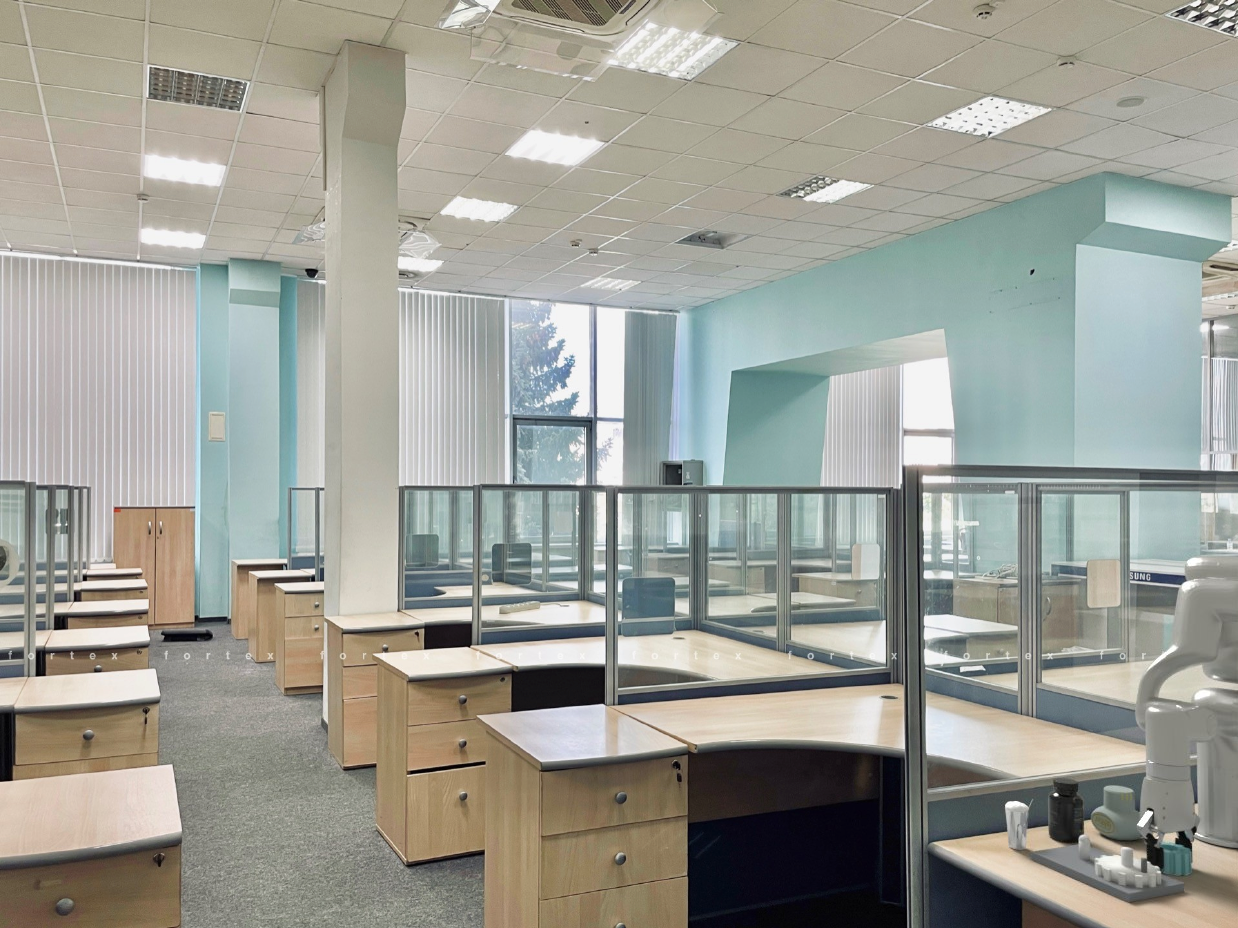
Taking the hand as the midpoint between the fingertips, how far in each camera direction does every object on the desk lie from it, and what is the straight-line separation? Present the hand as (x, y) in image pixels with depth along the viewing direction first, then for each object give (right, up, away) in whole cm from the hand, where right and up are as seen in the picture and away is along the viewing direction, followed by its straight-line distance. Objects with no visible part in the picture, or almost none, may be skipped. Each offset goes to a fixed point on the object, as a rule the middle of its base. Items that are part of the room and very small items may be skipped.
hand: (1169, 862), depth 182 cm
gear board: (-15, -1, -4) cm, 15 cm away
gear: (0, -1, 0) cm, 1 cm away
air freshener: (0, -2, +18) cm, 18 cm away
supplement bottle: (-12, -2, +17) cm, 21 cm away
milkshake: (-25, -1, +10) cm, 27 cm away
